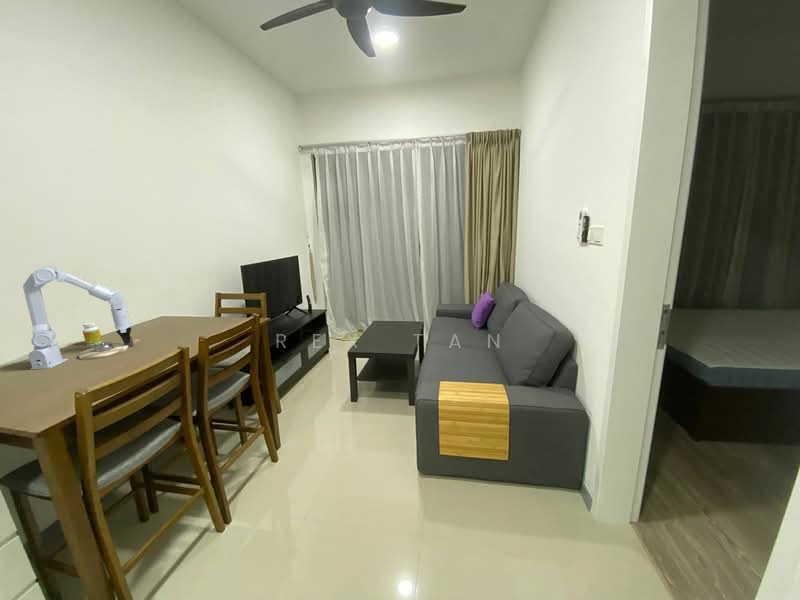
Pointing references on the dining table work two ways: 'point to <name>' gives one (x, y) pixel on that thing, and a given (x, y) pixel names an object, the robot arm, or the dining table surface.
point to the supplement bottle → (91, 334)
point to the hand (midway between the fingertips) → (127, 342)
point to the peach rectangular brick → (136, 340)
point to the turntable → (117, 349)
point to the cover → (103, 347)
